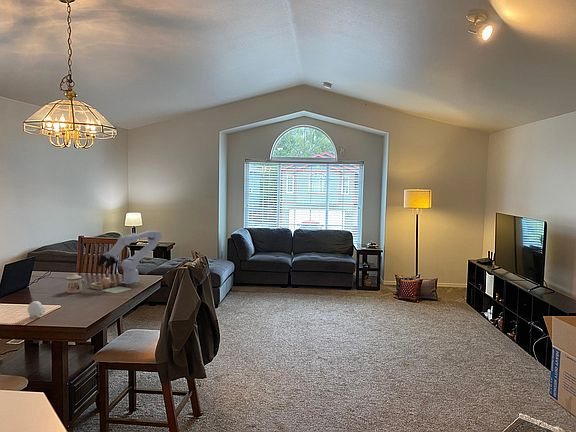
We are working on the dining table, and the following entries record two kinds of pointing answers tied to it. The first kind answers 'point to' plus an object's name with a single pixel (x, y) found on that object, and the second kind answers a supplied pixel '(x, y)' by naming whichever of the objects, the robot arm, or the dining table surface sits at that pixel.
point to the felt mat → (116, 289)
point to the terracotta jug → (105, 282)
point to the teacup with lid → (74, 283)
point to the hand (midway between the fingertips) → (102, 266)
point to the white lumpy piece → (35, 309)
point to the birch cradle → (98, 286)
